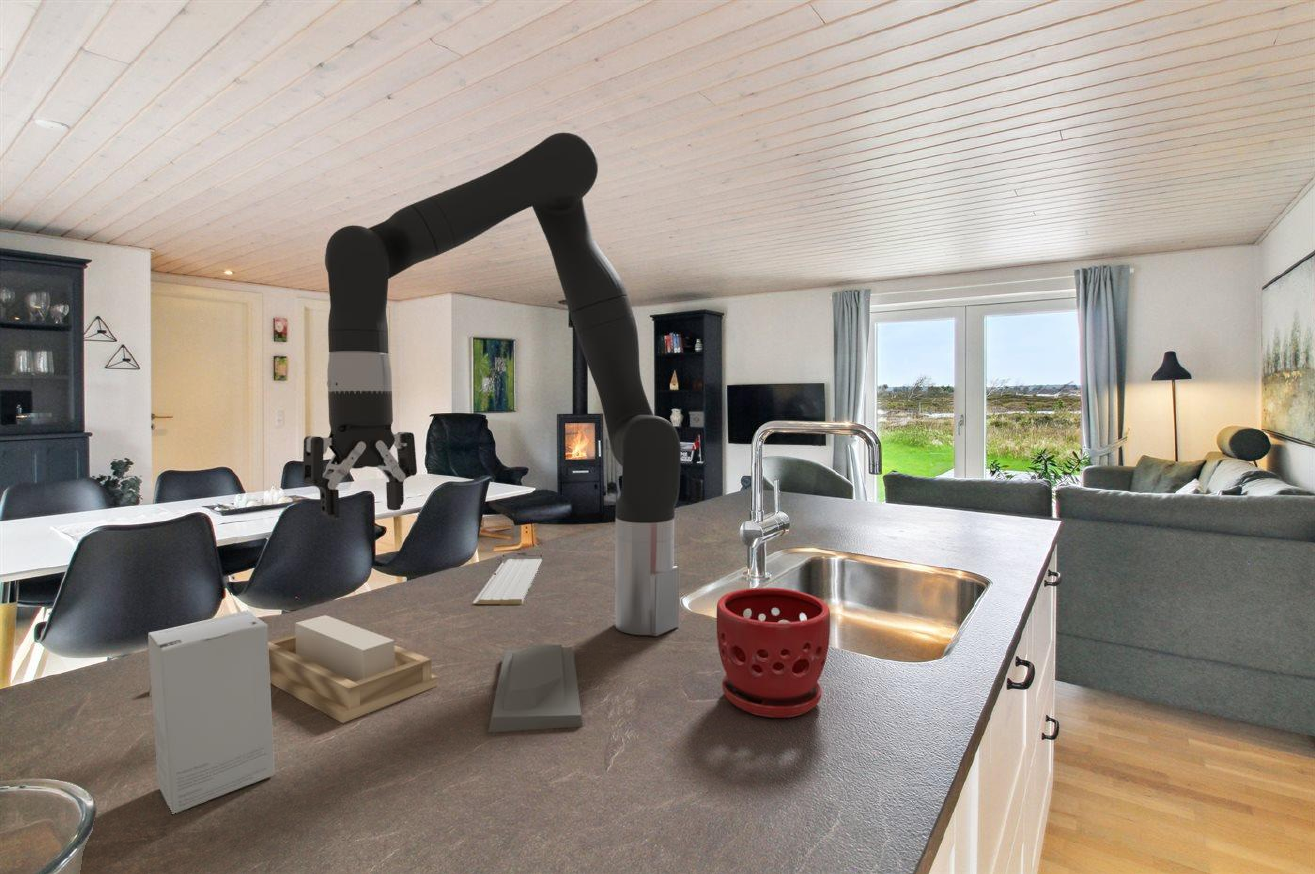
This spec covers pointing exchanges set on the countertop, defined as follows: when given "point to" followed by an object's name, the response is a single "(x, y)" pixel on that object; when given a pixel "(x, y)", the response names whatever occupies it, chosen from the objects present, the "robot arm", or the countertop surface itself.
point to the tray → (347, 681)
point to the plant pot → (772, 650)
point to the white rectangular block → (344, 648)
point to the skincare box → (211, 707)
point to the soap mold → (537, 690)
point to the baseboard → (510, 582)
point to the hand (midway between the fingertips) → (364, 514)
